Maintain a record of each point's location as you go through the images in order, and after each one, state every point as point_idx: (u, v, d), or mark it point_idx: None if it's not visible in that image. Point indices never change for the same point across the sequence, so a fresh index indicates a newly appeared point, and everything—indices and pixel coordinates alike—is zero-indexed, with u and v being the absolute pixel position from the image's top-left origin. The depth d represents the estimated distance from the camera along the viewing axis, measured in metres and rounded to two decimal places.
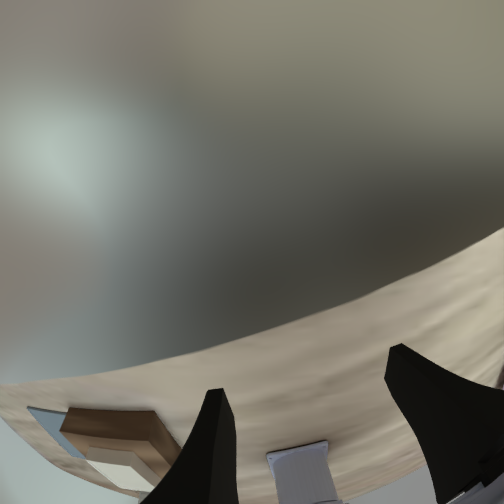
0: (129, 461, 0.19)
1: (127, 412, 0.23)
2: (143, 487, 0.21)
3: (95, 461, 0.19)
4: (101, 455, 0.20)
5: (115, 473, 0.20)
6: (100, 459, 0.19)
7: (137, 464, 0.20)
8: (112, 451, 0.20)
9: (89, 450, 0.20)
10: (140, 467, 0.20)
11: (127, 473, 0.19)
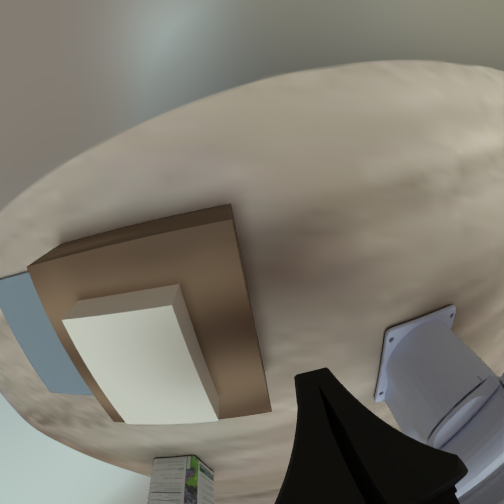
0: (170, 298, 0.11)
1: (175, 216, 0.15)
2: (181, 406, 0.13)
3: (84, 318, 0.11)
4: (101, 305, 0.12)
5: (124, 360, 0.12)
6: (97, 311, 0.11)
7: (184, 319, 0.12)
8: (128, 294, 0.12)
9: (76, 305, 0.12)
10: (188, 332, 0.12)
11: (156, 347, 0.11)
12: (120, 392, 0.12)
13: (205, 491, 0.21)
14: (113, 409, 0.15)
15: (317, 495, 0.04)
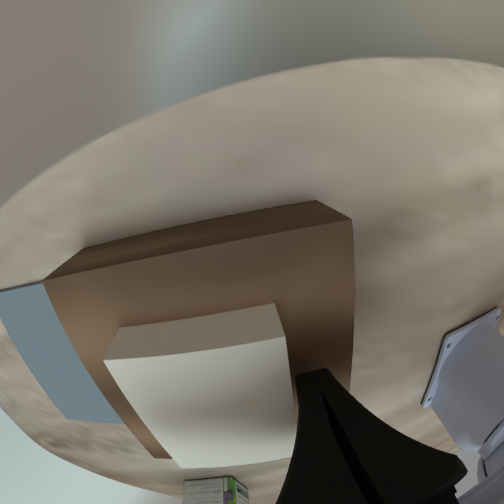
0: (275, 325, 0.08)
1: (248, 212, 0.12)
2: (261, 447, 0.10)
3: (140, 358, 0.08)
4: (163, 337, 0.09)
5: (197, 407, 0.09)
6: (160, 348, 0.08)
7: None
8: (201, 319, 0.09)
9: (119, 335, 0.09)
10: None
11: (248, 389, 0.08)
12: (182, 440, 0.09)
13: None
14: (156, 447, 0.13)
15: (318, 495, 0.04)
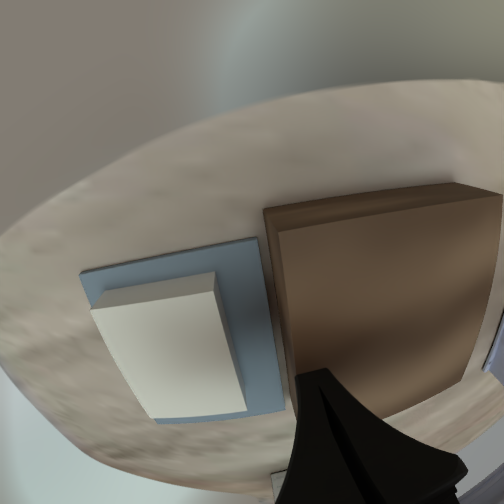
0: (103, 295, 0.12)
1: (420, 186, 0.13)
2: None
3: None
4: (169, 288, 0.12)
5: None
6: (171, 283, 0.13)
7: None
8: (139, 300, 0.11)
9: (209, 285, 0.12)
10: None
11: None
12: None
13: None
14: None
15: (317, 495, 0.04)
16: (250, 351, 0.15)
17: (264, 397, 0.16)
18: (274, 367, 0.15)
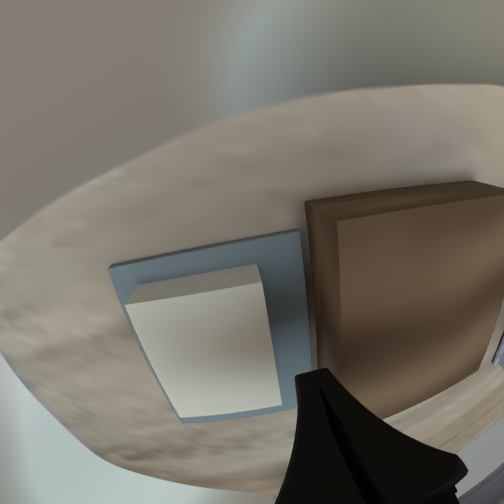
0: (136, 290, 0.12)
1: (444, 184, 0.13)
2: None
3: None
4: (211, 280, 0.12)
5: None
6: (212, 275, 0.13)
7: None
8: (181, 293, 0.11)
9: (255, 277, 0.12)
10: None
11: None
12: None
13: None
14: None
15: (317, 495, 0.04)
16: (285, 344, 0.15)
17: (294, 391, 0.16)
18: (307, 360, 0.15)
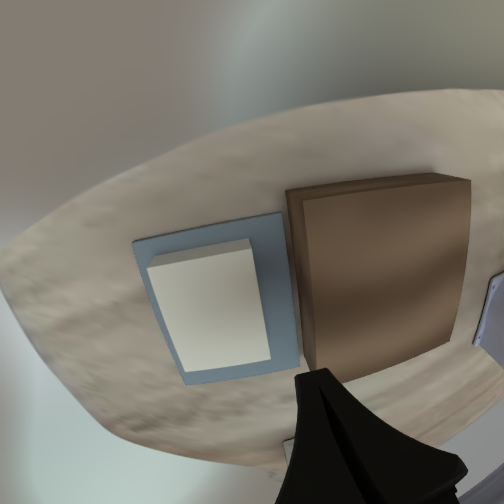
0: (155, 259, 0.16)
1: (405, 175, 0.17)
2: None
3: (225, 243, 0.17)
4: (214, 249, 0.16)
5: None
6: (214, 246, 0.16)
7: None
8: (190, 258, 0.15)
9: (247, 246, 0.16)
10: None
11: None
12: None
13: None
14: None
15: (317, 495, 0.04)
16: (272, 307, 0.19)
17: (282, 352, 0.20)
18: (292, 322, 0.19)
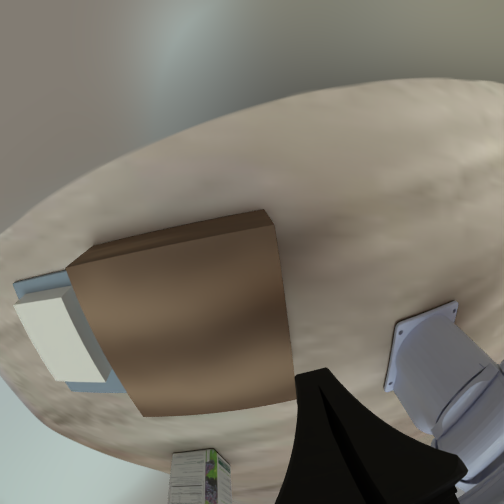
0: (23, 297, 0.17)
1: (212, 219, 0.17)
2: None
3: (60, 288, 0.17)
4: (48, 294, 0.16)
5: None
6: (52, 291, 0.17)
7: None
8: (33, 300, 0.16)
9: (62, 294, 0.16)
10: None
11: None
12: None
13: (224, 483, 0.23)
14: (145, 404, 0.17)
15: (317, 495, 0.04)
16: None
17: None
18: None
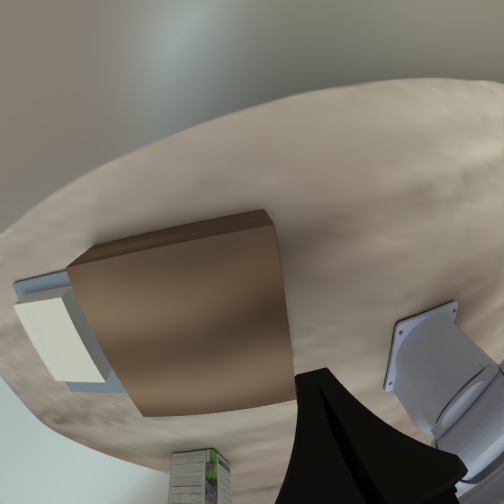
0: (23, 297, 0.17)
1: (212, 219, 0.17)
2: None
3: (60, 288, 0.17)
4: (48, 294, 0.16)
5: None
6: (52, 291, 0.17)
7: None
8: (33, 300, 0.16)
9: (62, 294, 0.16)
10: None
11: None
12: None
13: (224, 483, 0.23)
14: (145, 404, 0.17)
15: (317, 495, 0.04)
16: None
17: None
18: None
